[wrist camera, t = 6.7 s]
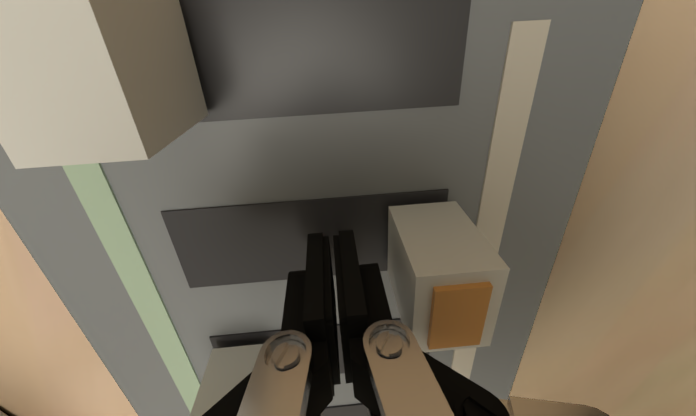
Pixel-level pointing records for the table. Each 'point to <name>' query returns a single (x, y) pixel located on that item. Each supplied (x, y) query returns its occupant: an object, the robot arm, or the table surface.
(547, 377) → the table surface
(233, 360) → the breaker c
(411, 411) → the robot arm
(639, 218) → the table surface
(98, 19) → the breaker
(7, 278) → the table surface
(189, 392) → the panel
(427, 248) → the block
